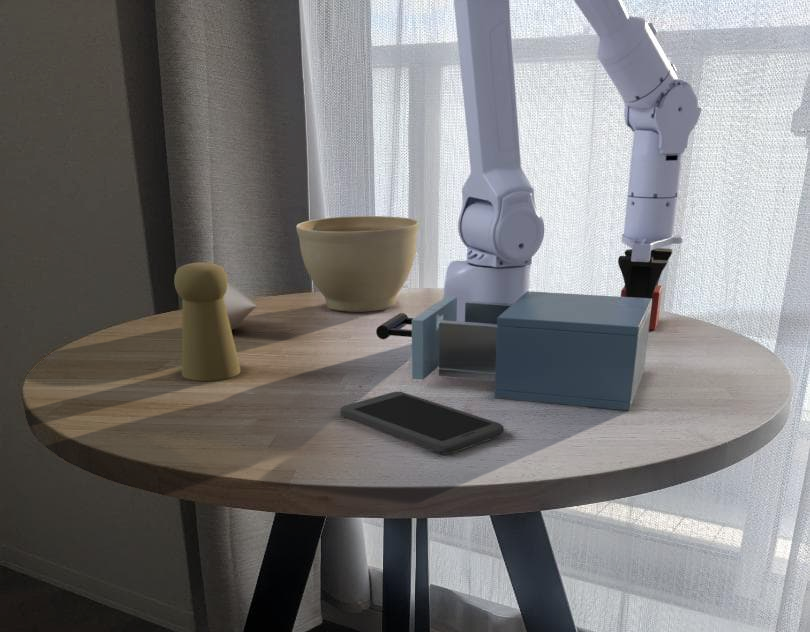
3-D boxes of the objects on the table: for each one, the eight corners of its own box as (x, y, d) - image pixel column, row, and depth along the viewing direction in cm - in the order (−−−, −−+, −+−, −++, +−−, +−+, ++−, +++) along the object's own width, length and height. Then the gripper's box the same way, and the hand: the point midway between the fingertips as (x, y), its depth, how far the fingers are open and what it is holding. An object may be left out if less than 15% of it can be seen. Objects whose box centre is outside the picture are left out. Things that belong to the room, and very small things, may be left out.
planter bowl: (363, 289, 130) (361, 212, 125) (443, 305, 119) (443, 221, 114) (277, 306, 119) (271, 223, 115) (356, 325, 109) (353, 234, 104)
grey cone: (259, 344, 100) (201, 341, 112) (289, 304, 102) (228, 305, 113) (222, 307, 97) (165, 308, 108) (253, 266, 98) (194, 271, 109)
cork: (250, 367, 92) (241, 260, 87) (222, 383, 87) (210, 270, 82) (201, 362, 94) (188, 257, 89) (170, 378, 89) (155, 267, 84)
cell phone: (397, 397, 82) (397, 389, 82) (508, 434, 73) (508, 425, 73) (336, 415, 78) (336, 406, 78) (446, 456, 69) (446, 447, 68)
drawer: (367, 374, 86) (365, 316, 84) (404, 347, 96) (404, 293, 93) (527, 389, 82) (530, 328, 79) (550, 358, 91) (554, 302, 89)
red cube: (617, 327, 107) (621, 290, 105) (621, 319, 111) (625, 283, 109) (654, 330, 106) (659, 292, 104) (658, 322, 110) (662, 285, 107)
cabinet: (494, 397, 82) (497, 317, 79) (522, 363, 93) (526, 291, 90) (629, 411, 79) (639, 326, 75) (643, 373, 89) (652, 298, 86)
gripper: (684, 203, 94) (668, 328, 100) (691, 191, 106) (676, 303, 113) (618, 201, 96) (606, 324, 102) (632, 189, 108) (621, 300, 115)
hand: (639, 313), depth 108 cm, fingers closed on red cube, 4 cm apart
